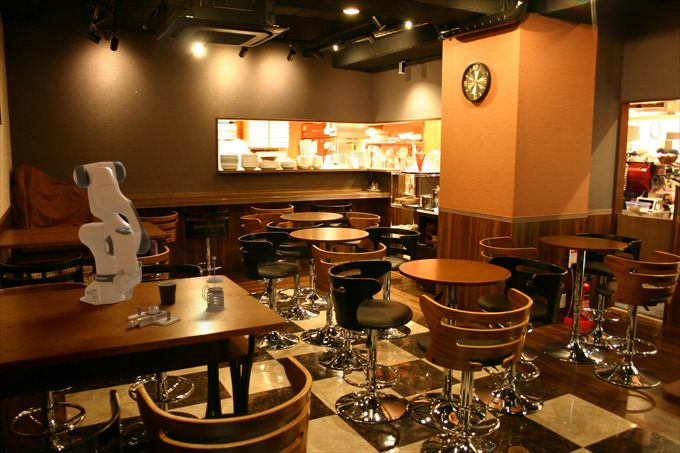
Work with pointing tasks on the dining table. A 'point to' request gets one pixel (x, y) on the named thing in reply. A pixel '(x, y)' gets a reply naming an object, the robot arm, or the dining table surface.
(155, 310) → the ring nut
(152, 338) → the dining table surface
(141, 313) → the cradle
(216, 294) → the french press
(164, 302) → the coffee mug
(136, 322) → the pin
